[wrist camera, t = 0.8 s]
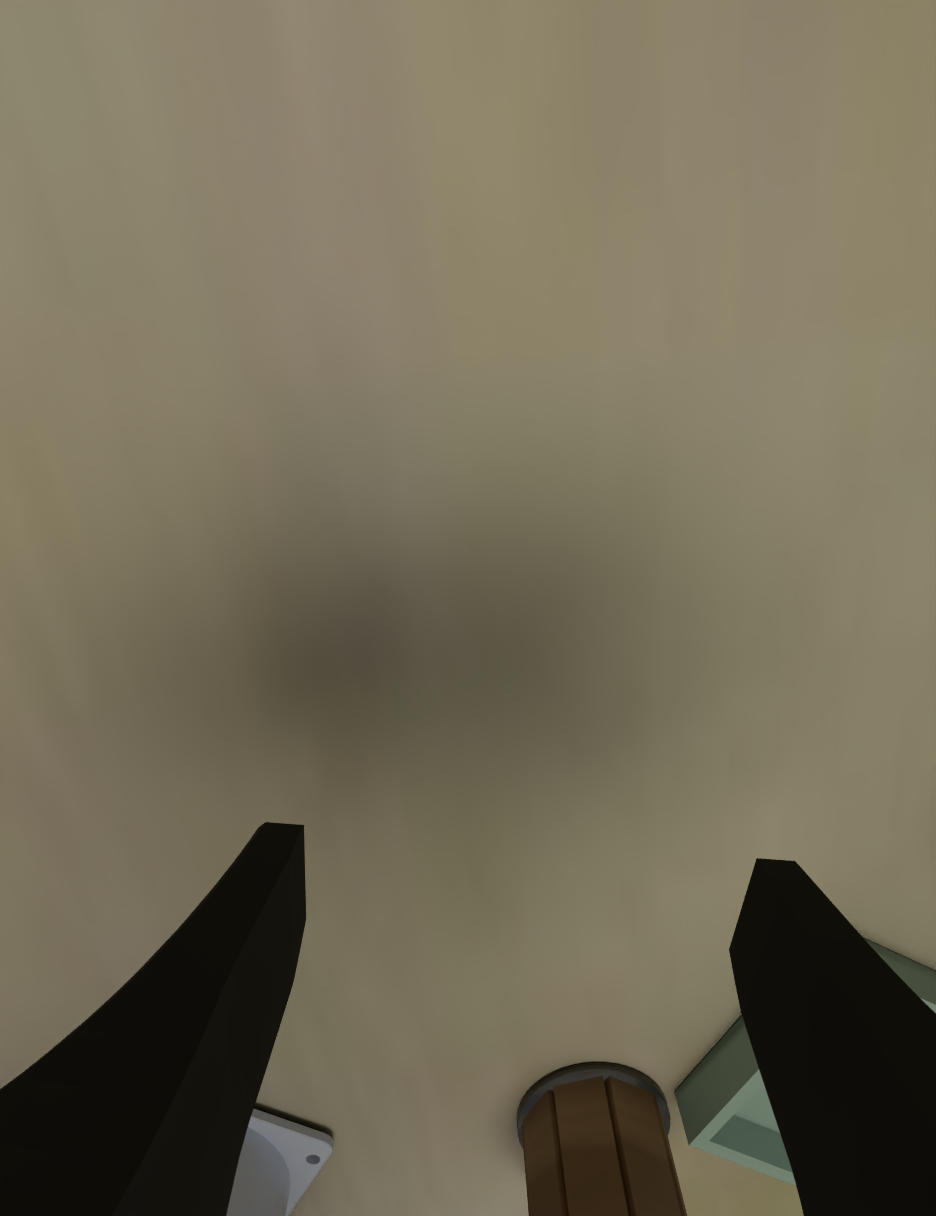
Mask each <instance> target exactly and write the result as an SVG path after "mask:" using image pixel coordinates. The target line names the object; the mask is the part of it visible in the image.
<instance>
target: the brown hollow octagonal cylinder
mask: <svg viewBox="0 0 936 1216" xmlns="http://www.w3.org/2000/svg"><path fill="white" fill-rule="evenodd" d="M553 1088H554V1092H553V1091H550V1090H547V1091H546V1092H545V1094H544V1095H543V1096H542V1097H541V1099H540V1100H539V1101H538V1102H537V1104H536V1105H535V1106H534V1107H533V1108H532V1110H531V1111H530V1112H529V1113H528V1115H527V1116H526V1117H525V1118H524V1120H523V1125H522V1134H523V1147H524V1160H525V1173H526V1185H527V1198H528V1211H529V1216H687V1213H686V1209H685V1205H684V1201H683V1197H682V1193H681V1189H680V1185H679V1181H678V1177H677V1173H676V1169H675V1165H674V1161H673V1157H672V1153H671V1149H670V1144H669V1140H668V1136H667V1132H666V1128H665V1125H664V1122H663V1118H662V1115H661V1112H660V1108H659V1105H658V1102H657V1099H656V1096H654V1097H653V1095H652V1092H650V1091H647V1090H645V1089H642V1088H639V1087H637V1086H634V1085H632V1084H629V1083H627V1082H624V1081H622V1080H619V1079H616V1078H614V1077H611V1076H609V1077H608V1078H607V1079H606V1080H605V1082H604V1079H603V1076H597V1077H593V1078H588V1079H584V1080H579V1081H575V1082H570V1083H566V1084H561V1085H557V1086H553Z"/></svg>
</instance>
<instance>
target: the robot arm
mask: <svg viewBox="0 0 936 1216" xmlns="http://www.w3.org/2000/svg"><path fill="white" fill-rule="evenodd" d="M305 922H306V896H305V853H304V825H296V824H282V823H269V822H265V823H264V824H263V825H261V826H260V827H259V828H258V829H257V830H256V832H255V833H254V835H253V836H252V838H251V839H250V840H249V842H248V843H247V845H246V846H245V847H244V849H243V850H242V851H241V853H240V854H239V855H238V857H237V858H236V859H235V861H234V862H233V863H232V865H231V866H230V867H229V869H228V870H227V871H226V872H225V874H224V875H223V876H222V877H221V879H220V880H219V881H218V882H217V884H216V885H215V886H214V887H213V889H212V890H211V891H210V892H209V893H208V894H207V896H206V897H205V898H204V899H203V900H202V902H201V903H200V904H199V905H198V906H197V907H196V909H195V910H194V911H193V912H192V913H191V915H190V916H189V917H188V918H187V919H186V920H185V922H184V923H183V924H182V925H181V926H180V927H179V928H178V929H177V930H176V932H175V933H174V934H173V935H172V936H171V937H170V938H169V939H168V940H167V941H166V942H165V943H164V944H163V945H162V946H161V947H160V949H159V950H158V951H157V952H156V953H155V954H154V955H153V956H152V957H151V958H150V959H149V960H148V961H147V962H146V963H145V964H144V966H143V967H142V968H141V969H140V970H139V971H138V972H137V973H136V974H135V975H134V976H133V977H132V978H131V979H130V980H128V981H127V982H126V983H125V984H124V985H123V986H122V987H121V988H120V989H119V990H118V991H117V992H116V993H115V994H114V995H113V996H112V997H111V998H110V999H109V1000H108V1001H106V1002H105V1003H104V1004H103V1005H102V1006H101V1007H100V1008H99V1009H98V1010H97V1011H95V1012H94V1013H93V1014H92V1015H91V1016H90V1017H89V1018H88V1019H87V1020H86V1021H84V1022H83V1023H82V1024H81V1025H80V1026H79V1027H77V1028H76V1029H75V1030H74V1031H73V1032H71V1033H70V1034H69V1035H68V1036H67V1037H65V1038H64V1039H63V1040H62V1041H61V1042H60V1043H58V1044H57V1045H56V1046H55V1047H54V1048H52V1049H51V1050H50V1051H49V1052H48V1053H47V1054H45V1055H44V1056H43V1057H42V1058H40V1059H39V1060H38V1061H37V1062H35V1063H34V1064H33V1065H32V1066H30V1067H29V1068H28V1069H27V1070H25V1071H24V1072H23V1073H21V1074H20V1075H19V1076H18V1077H16V1078H15V1079H14V1080H12V1081H11V1082H9V1083H8V1084H7V1085H5V1086H4V1087H3V1088H1V1089H0V1216H289V1214H290V1213H291V1211H292V1210H293V1209H294V1207H295V1206H296V1204H297V1203H298V1201H299V1200H300V1198H301V1197H302V1196H303V1194H304V1193H305V1191H306V1190H307V1188H308V1187H309V1186H310V1184H311V1183H312V1181H313V1180H314V1178H315V1177H316V1176H317V1174H318V1173H319V1171H320V1170H321V1168H322V1167H323V1166H324V1164H325V1163H326V1161H327V1160H328V1158H329V1157H330V1155H331V1154H332V1151H333V1144H334V1142H333V1139H332V1138H331V1136H329V1135H328V1134H326V1133H323V1132H320V1131H317V1130H314V1129H312V1128H309V1127H306V1126H303V1125H300V1124H297V1123H294V1122H291V1121H288V1120H286V1119H283V1118H280V1117H277V1116H274V1115H271V1114H268V1113H265V1112H263V1111H260V1110H257V1109H254V1106H255V1103H256V1099H257V1096H258V1093H259V1090H260V1087H261V1084H262V1080H263V1077H264V1074H265V1071H266V1068H267V1065H268V1062H269V1058H270V1055H271V1052H272V1049H273V1046H274V1043H275V1040H276V1036H277V1033H278V1030H279V1027H280V1024H281V1020H282V1017H283V1014H284V1011H285V1008H286V1004H287V1001H288V998H289V995H290V992H291V988H292V985H293V982H294V977H295V972H296V967H297V962H298V957H299V953H300V947H301V942H302V937H303V932H304V927H305ZM729 952H730V957H731V963H732V968H733V974H734V979H735V985H736V989H737V994H738V999H739V1004H740V1009H741V1013H742V1017H743V1020H744V1023H745V1027H746V1030H747V1033H748V1036H749V1039H750V1042H751V1046H752V1049H753V1052H754V1055H755V1058H756V1061H757V1064H758V1068H759V1071H760V1074H761V1077H762V1080H763V1083H764V1086H765V1089H766V1092H767V1095H768V1098H769V1101H770V1104H771V1107H772V1110H773V1113H774V1116H775V1119H776V1122H777V1125H778V1129H779V1132H780V1135H781V1138H782V1141H783V1144H784V1147H785V1150H786V1153H787V1156H788V1159H789V1162H790V1165H791V1169H792V1172H793V1176H794V1179H795V1183H796V1186H797V1190H798V1193H799V1197H800V1201H801V1205H802V1210H803V1214H804V1216H936V1013H935V1012H934V1011H933V1010H932V1009H931V1008H930V1007H929V1006H928V1005H927V1004H926V1003H925V1002H924V1001H923V1000H922V999H921V998H920V997H919V996H918V995H917V994H916V993H915V992H914V991H913V990H912V989H911V988H910V987H909V986H908V985H907V984H906V983H905V982H904V981H903V980H902V979H901V978H900V977H899V976H898V975H897V974H896V973H895V972H894V971H893V970H892V968H891V967H890V966H889V965H888V964H887V963H886V962H885V961H884V960H883V959H882V958H881V957H880V956H879V955H878V953H877V952H876V951H875V950H874V949H873V948H872V947H871V946H870V945H869V944H868V943H867V941H866V940H865V939H864V938H863V937H862V936H861V935H860V934H859V933H858V932H857V930H856V929H855V928H854V927H853V926H852V925H851V924H850V923H849V921H848V920H847V919H846V918H845V917H844V916H843V915H842V914H841V912H840V911H839V910H838V909H837V908H836V907H835V906H834V905H833V903H832V902H831V901H830V900H829V899H828V898H827V897H826V895H825V894H824V893H823V892H822V891H821V890H820V889H819V887H818V886H817V885H816V884H815V883H814V882H813V881H812V879H811V878H810V877H809V876H808V875H807V874H806V873H805V872H804V871H803V869H802V868H801V867H800V866H799V865H798V864H797V863H796V862H795V861H786V860H772V859H758V858H757V859H756V862H755V866H754V869H753V872H752V876H751V879H750V882H749V885H748V889H747V892H746V895H745V899H744V902H743V905H742V909H741V912H740V915H739V919H738V922H737V925H736V928H735V932H734V935H733V938H732V942H731V945H730V948H729Z"/></svg>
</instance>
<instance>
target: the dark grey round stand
mask: <svg viewBox="0 0 936 1216" xmlns="http://www.w3.org/2000/svg"><path fill="white" fill-rule="evenodd" d="M597 1076H603V1079H604V1082H605V1080H606V1079H607V1078H608V1077H609V1076H611V1077H614V1078H616V1079H619V1080H622V1081H624V1082H627V1083H629V1084H632V1085H634V1086H637V1087H639V1088H642V1089H645V1090H647V1091H650V1092H652V1095H653V1097H654V1096H656V1099H657V1102H658V1105H659V1108H660V1112H661V1115H662V1118H663V1122H664V1125H665V1128H666V1132H667V1135H668V1133H669V1129H670V1114H669V1110H668V1106H667V1102H666V1099H665V1096H664V1094H663V1092H662V1091H661V1089H660V1088H659V1087H658V1085H657V1084H656V1083H655V1082H654V1081H653V1080H651V1079H650V1078H649V1077H648V1076H646V1075H644V1074H643V1073H641V1072H639V1071H637V1070H635V1069H632V1068H629V1067H626V1066H623V1065H618V1064H612V1063H583V1064H578V1065H573V1066H569V1067H566V1068H563V1069H560V1070H558V1071H555V1072H553V1073H551V1074H549V1075H547V1076H546V1077H544V1078H543V1079H541V1080H540V1081H538V1082H537V1083H536V1084H535V1085H534V1086H532V1087H531V1089H530V1090H529V1091H528V1092H527V1093H526V1095H525V1096H524V1098H523V1099H522V1101H521V1103H520V1105H519V1109H518V1113H517V1127H518V1137H519V1140H520V1144H521V1146H522V1148H523V1149H524V1147H523V1134H522V1125H523V1120H524V1118H525V1117H526V1116H527V1115H528V1113H529V1112H530V1111H531V1110H532V1108H533V1107H534V1106H535V1105H536V1104H537V1102H538V1101H539V1100H540V1099H541V1097H542V1096H543V1095H544V1094H545V1092H546V1091H547V1090H550V1091H553V1092H554V1088H553V1086H557V1085H561V1084H566V1083H570V1082H575V1081H579V1080H584V1079H588V1078H593V1077H597Z"/></svg>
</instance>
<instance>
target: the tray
mask: <svg viewBox="0 0 936 1216" xmlns="http://www.w3.org/2000/svg"><path fill="white" fill-rule="evenodd" d="M865 940H866V941H867V943H868V944H869V945H870V946H871V947H872V948H873V949H874V950H875V951H876V952H877V953H878V955H879V956H880V957H881V958H882V959H883V960H884V961H885V962H886V963H887V964H888V965H889V966H890V967H891V968H892V970H893V971H894V972H895V973H896V974H897V975H898V976H899V977H900V978H901V979H902V980H903V981H904V982H905V983H906V984H907V985H908V986H909V987H910V988H911V989H912V990H913V991H914V992H915V993H916V994H917V995H918V996H919V997H920V998H921V999H922V1000H923V1001H924V1002H925V1003H926V1004H927V1005H928V1006H929V1007H930V1008H931V1009H932V1010H933V1011H934V1012H935V1013H936V971H934V970H932V969H930V968H928V967H926V966H923V965H921V964H919V963H917V962H915V961H913V960H910V959H908V958H906V957H904V956H902V955H899V954H897V953H895V952H893V951H891V950H889V949H886V948H884V947H882V946H880V945H878V944H875V943H873V942H871V941H869V940H867V939H865ZM675 1096H676V1099H677V1103H678V1107H679V1110H680V1114H681V1118H682V1122H683V1125H684V1129H685V1133H686V1137H687V1140H688V1144H689V1146H692V1147H695V1148H697V1149H700V1150H703V1151H705V1152H708V1153H711V1154H713V1155H716V1156H718V1157H721V1158H724V1159H726V1160H729V1161H732V1162H734V1163H737V1164H740V1165H742V1166H745V1167H748V1168H750V1169H753V1170H755V1171H758V1172H761V1173H763V1174H766V1175H769V1176H771V1177H774V1178H777V1179H779V1180H782V1181H785V1182H787V1183H790V1184H792V1185H795V1186H796V1183H795V1179H794V1176H793V1172H792V1169H791V1165H790V1162H789V1159H788V1156H787V1153H786V1150H785V1147H784V1144H783V1141H782V1138H781V1135H780V1132H779V1129H778V1125H777V1122H776V1119H775V1116H774V1113H773V1110H772V1107H771V1104H770V1101H769V1098H768V1095H767V1092H766V1089H765V1086H764V1083H763V1080H762V1077H761V1074H760V1071H759V1068H758V1064H757V1061H756V1058H755V1055H754V1052H753V1049H752V1046H751V1042H750V1039H749V1036H748V1033H747V1030H746V1027H745V1023H744V1020H743V1017H742V1016H741V1017H740V1018H739V1020H738V1021H737V1022H736V1023H735V1024H734V1025H733V1026H732V1028H731V1029H730V1030H729V1031H728V1032H727V1033H726V1034H725V1035H724V1037H723V1038H722V1039H721V1040H720V1041H719V1042H718V1043H717V1045H716V1046H715V1047H714V1048H713V1049H712V1050H711V1051H710V1052H709V1054H708V1055H707V1056H706V1057H705V1058H704V1059H703V1060H702V1062H701V1063H700V1064H699V1065H698V1066H697V1067H696V1068H695V1069H694V1071H693V1072H692V1073H691V1074H690V1075H689V1076H688V1077H687V1079H686V1080H685V1081H684V1082H683V1083H682V1084H681V1085H680V1087H679V1088H678V1089H677V1090H676V1091H675Z"/></svg>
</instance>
